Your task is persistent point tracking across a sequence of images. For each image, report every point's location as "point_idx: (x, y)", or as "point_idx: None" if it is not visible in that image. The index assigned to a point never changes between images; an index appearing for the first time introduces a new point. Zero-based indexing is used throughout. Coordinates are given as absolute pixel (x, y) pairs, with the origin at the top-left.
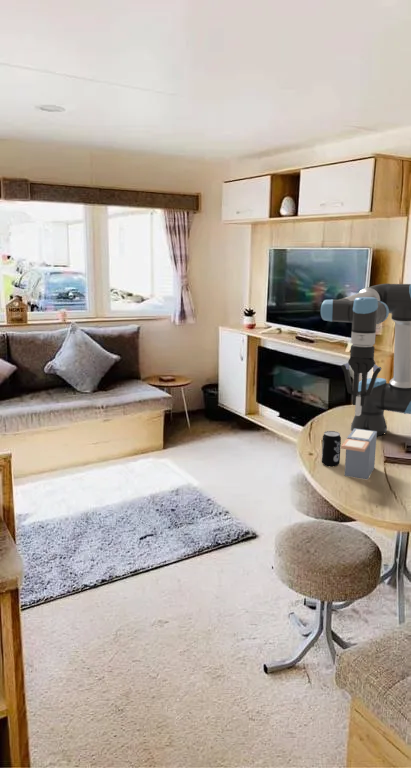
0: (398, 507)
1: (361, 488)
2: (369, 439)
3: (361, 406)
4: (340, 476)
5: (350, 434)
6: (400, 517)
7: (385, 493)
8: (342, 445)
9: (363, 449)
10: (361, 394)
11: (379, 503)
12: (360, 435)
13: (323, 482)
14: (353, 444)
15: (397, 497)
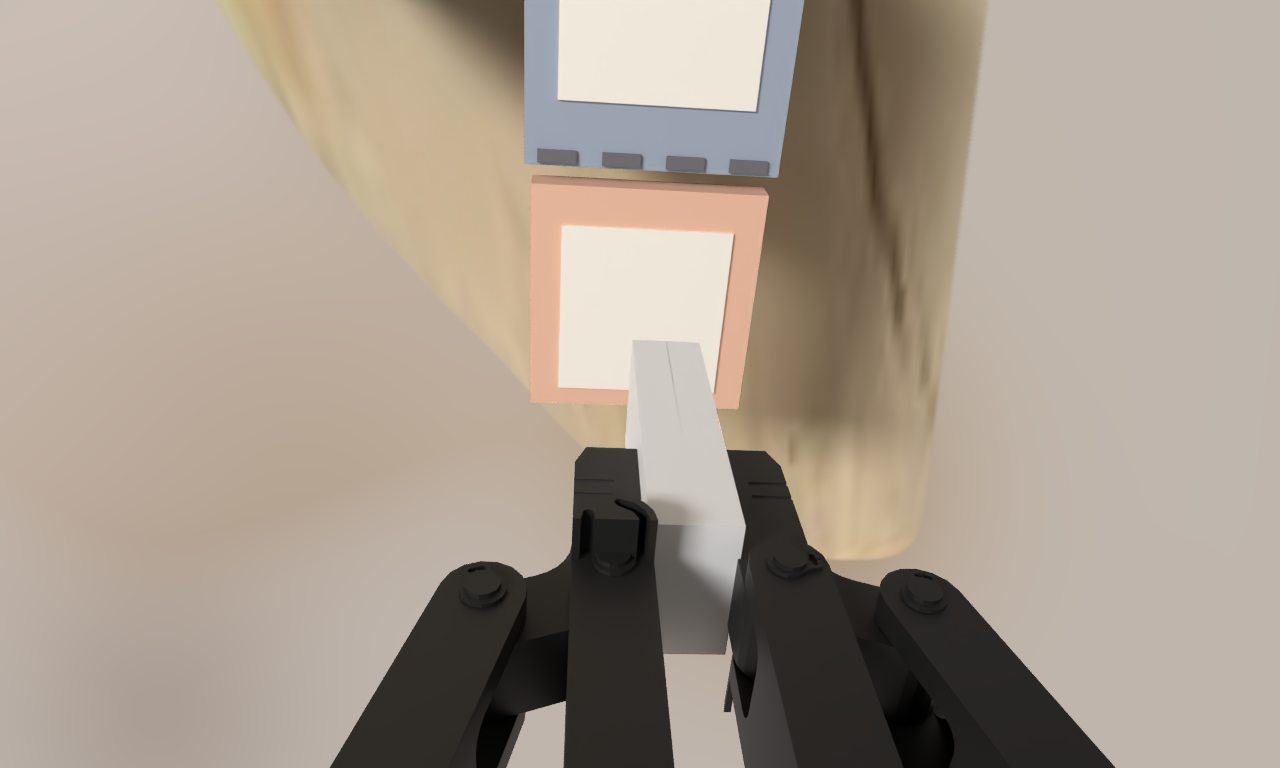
0: (905, 420)
1: None
2: (766, 114)
3: (713, 412)
4: (523, 109)
5: (534, 8)
6: (905, 512)
7: (842, 276)
8: (538, 391)
9: (728, 406)
10: (744, 687)
11: (807, 413)
12: (656, 15)
13: (444, 262)
14: (629, 338)
15: (910, 304)
